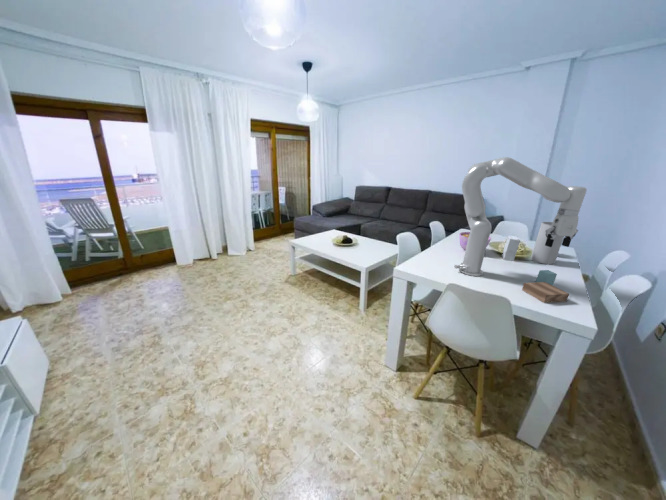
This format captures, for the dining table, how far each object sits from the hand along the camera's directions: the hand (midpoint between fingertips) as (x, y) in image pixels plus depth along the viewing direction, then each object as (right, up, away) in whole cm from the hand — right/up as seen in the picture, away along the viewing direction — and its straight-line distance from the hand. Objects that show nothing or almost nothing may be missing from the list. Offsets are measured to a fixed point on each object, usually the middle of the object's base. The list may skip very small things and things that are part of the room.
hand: (556, 246), depth 127 cm
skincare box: (+4, -8, +41) cm, 42 cm away
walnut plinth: (-12, -24, -6) cm, 27 cm away
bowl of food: (-14, -3, +53) cm, 55 cm away
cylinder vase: (+24, -9, +38) cm, 46 cm away
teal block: (-1, -20, +6) cm, 21 cm away
